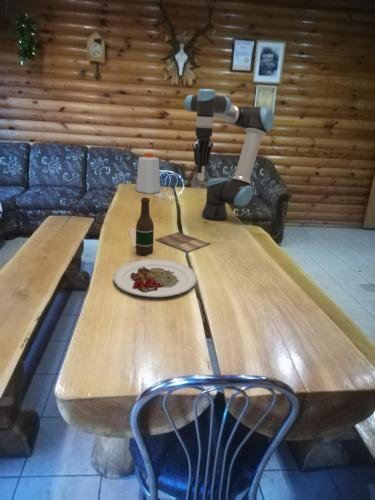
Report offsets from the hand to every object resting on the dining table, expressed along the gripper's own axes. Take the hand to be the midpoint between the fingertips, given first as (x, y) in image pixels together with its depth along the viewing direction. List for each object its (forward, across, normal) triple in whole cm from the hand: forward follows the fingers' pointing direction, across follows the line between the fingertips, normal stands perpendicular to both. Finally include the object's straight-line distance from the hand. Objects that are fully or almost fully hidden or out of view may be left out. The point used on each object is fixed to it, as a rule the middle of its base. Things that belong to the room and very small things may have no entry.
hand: (200, 179), depth 163 cm
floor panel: (+28, +14, -1) cm, 31 cm away
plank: (+28, +14, +9) cm, 33 cm away
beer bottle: (+28, +35, 0) cm, 45 cm away
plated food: (+28, +49, +21) cm, 60 cm away
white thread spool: (+29, -48, -87) cm, 104 cm away
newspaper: (+29, +26, -16) cm, 42 cm away
